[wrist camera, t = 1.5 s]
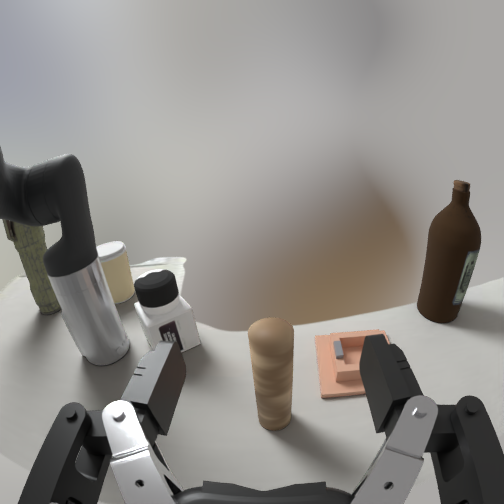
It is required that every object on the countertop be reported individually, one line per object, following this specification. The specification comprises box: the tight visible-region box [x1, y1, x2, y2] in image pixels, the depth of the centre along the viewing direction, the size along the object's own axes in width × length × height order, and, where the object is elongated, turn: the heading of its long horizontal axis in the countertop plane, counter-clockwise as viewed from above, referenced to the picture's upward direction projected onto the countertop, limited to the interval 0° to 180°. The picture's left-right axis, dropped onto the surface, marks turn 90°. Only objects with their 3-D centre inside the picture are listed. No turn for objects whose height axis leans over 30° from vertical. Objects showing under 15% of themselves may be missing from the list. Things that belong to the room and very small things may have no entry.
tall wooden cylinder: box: [248, 318, 294, 431], centre depth 26 cm, size 4×4×15 cm
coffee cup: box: [96, 241, 135, 304], centre depth 57 cm, size 9×9×12 cm
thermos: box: [3, 219, 61, 315], centre depth 48 cm, size 9×12×35 cm
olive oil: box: [417, 180, 481, 323], centre depth 39 cm, size 11×11×25 cm
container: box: [134, 269, 201, 353], centre depth 42 cm, size 8×8×13 cm
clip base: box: [315, 329, 390, 398], centre depth 35 cm, size 12×12×4 cm
